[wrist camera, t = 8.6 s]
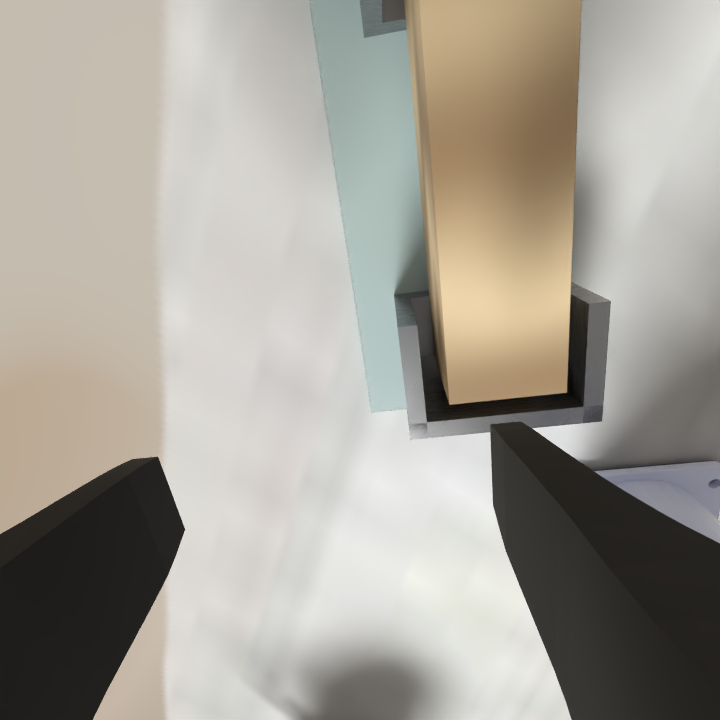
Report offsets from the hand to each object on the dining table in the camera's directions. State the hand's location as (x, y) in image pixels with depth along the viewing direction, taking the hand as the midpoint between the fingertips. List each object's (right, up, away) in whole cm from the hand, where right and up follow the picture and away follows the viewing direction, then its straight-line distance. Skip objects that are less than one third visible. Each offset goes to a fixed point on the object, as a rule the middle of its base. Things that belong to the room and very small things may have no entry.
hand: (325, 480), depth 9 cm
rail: (+4, +9, +5) cm, 12 cm away
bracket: (+5, +4, +9) cm, 11 cm away
